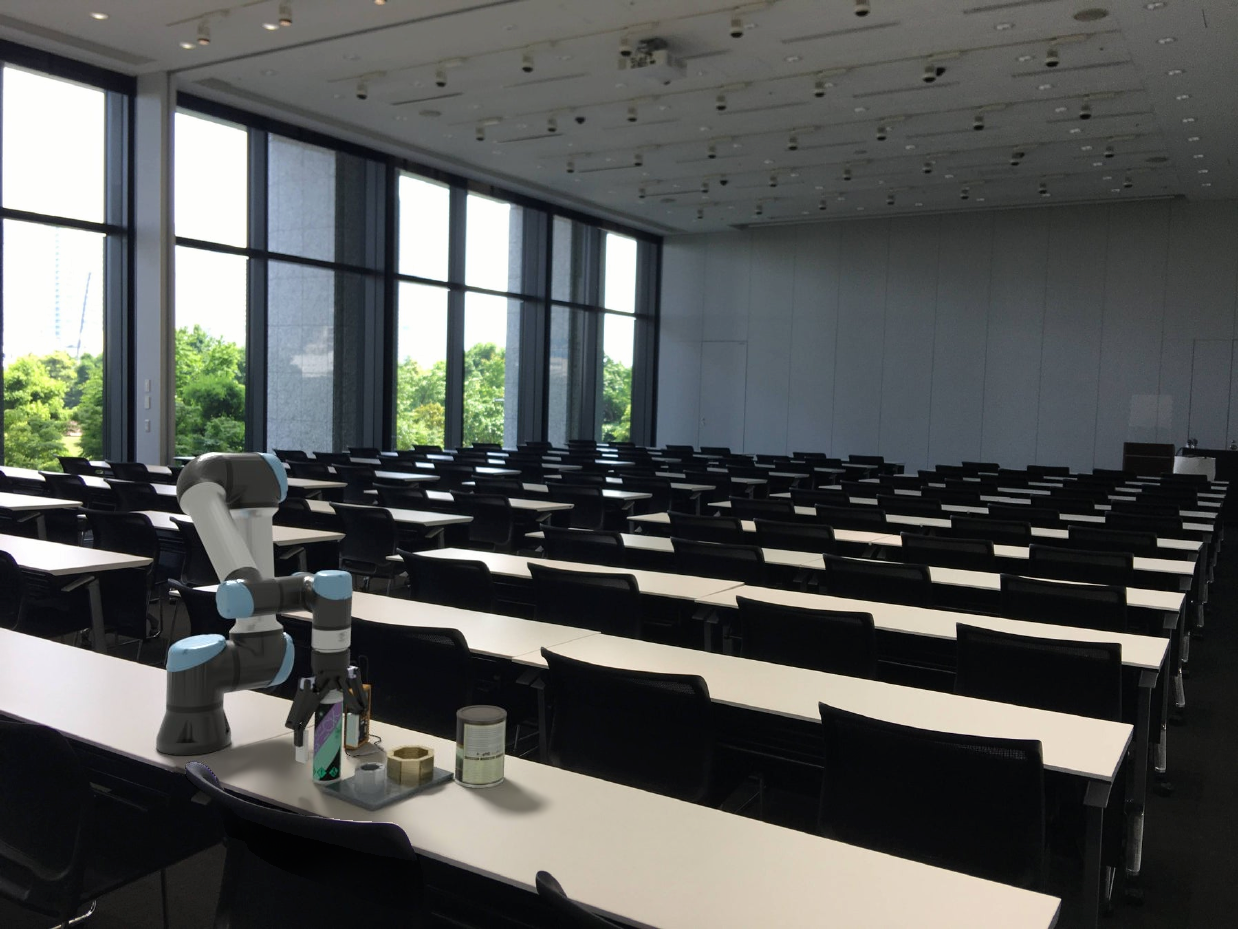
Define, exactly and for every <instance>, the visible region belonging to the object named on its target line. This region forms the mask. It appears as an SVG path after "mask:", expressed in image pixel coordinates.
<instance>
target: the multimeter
mask: <svg viewBox="0 0 1238 929" xmlns="http://www.w3.org/2000/svg"><path fill="white" fill-rule="evenodd" d="M361 657H362V658H363V657H364V658H365V660H366V662H367V664H366V665H367V668H366V684H363V683H362V684H363V687H364V690H365V693H366V696H367V700H368V703H369V708H368V709H365V714H364V715H361V726H360V729H358V746H357V747H353V746H349V745H346V736H347V714H348V713H352V712H351V711H350V709H349V708H348V707H347V705H346V704H345V703H344V712H343V714H344V715H343V717H344V718H343V720H344V721H343V724H344V725H343V745H342V746H343V749H344V752H345V754H346V755H347V756H349V757H350V756H353V757H352V758H356V756H357V757H362V756H367V754H368V755H372V754H373V753H377V752H379V750H374V751H372V750H370V751H367V752H362V753H360V754H357V755H350V754H349V753H348V751H347V750H350V749H352V751H356V750H357V749H358V748H359V747H361V746H362V745H364V744H366V743H367V742H369V739H370V737H374V736H375V737H376V738H378V739H379V740H377V741H374V742H373V744H374V745H375V746H376V747H377V748H378V749H380V750H381V751H382V752H383V751H384V752H385V753H388V750H385V748H384V747H382V746H381V745H378V744H377V743H379V742H381V741H382V737H380V736H378V735H373V734H370V720H371V694H372V693H371V690H372V689H371V688H372V686H371V684H369V659H368V657H367V656H366V655H364V654H363V655H359V656H358V663H357V662H356V661H355V660H350V664H351V663H354V664H355V665H356V667H358V668H360V669H361V661H360V658H361ZM348 667H349V666H348ZM348 667H347V669H348ZM360 678H361V674H360ZM345 682H346V683H347V680H346V681H345ZM350 692H351V693H352V695H353V692H352V689H351V688H350ZM353 696H354V695H353Z"/></svg>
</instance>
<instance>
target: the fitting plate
mask: <svg viewBox="0 0 1238 929" xmlns="http://www.w3.org/2000/svg"><path fill="white" fill-rule="evenodd" d="M386 757H387V758H386V759H387V760H386V764H383V763H380V762H369V761H368V762H362V763H359V764H357V765H355V768H354V775H353V776H350V777H347V778H343V779H340V780H339V781H338V782H335V783H332V784H326V785H323V787H322V793H323V794H325V795H328V796H330V797H333V798H335V799H339V800H341V801H344V802H346V803H349V804H351V805H355V806H357V807H360V808H362V809H366V810H368V811H370V812H374V811H377V810H379V809H381V808H383V807H386V806H389V805H392V804H394V803H396V802H398V801H401V800H404V799H406V798H409V797H411V796H414V795H416V794H418V793H421V792H423V791H426V790H428V789H431V788H434V787H437V786H439V785H441V784H444V783H446V782H449V781H451V780H454V779H453V778H455V772H452V771H449V770H446V769H443V768H440V767H437V766H435V749H434V748H432V747H429V746H428V747H427V746H425V745H423V744H422V745H420V744H418V745H416V744H413V745H412V744H411V745H409V744H407V745H399V746H395V747H394V748H390V749H388V750H387V755H386Z"/></svg>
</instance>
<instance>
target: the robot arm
mask: <svg viewBox="0 0 1238 929" xmlns="http://www.w3.org/2000/svg"><path fill="white" fill-rule="evenodd" d="M286 471H287V470H286V468H285V466H284V464H283V462H281V459H280V458H279V457H277V456H276V455H274V454H272V453H265V452H264V453H263V452H215V451H214V452H213V451H212V452H206V453H203V454H200V455H198V456H195V457H194V458H193V459H191V460H190V461H189V462H188V463H187V464H185V466H184V467H183V468H182V470H181V471H180V473H179V475H178V477H177V478H178V479H177V481H176V486H175V487H176V488H175V490H176V491H175V493H176V494H175V495H176V498H177V499H176V500H177V503H178V504H179V507H180V509H181V510H182V512H183V513H184V514H185V515H187V516H189V517H190V520H191V521H192V524H193V525H194V527H195V529H196V532H197V533H198V536H199V538H200V540H201V542H202V544H203V546H204V549H205V551H206V553H207V555H208V558H209V560H210V562H211V564H212V566H213V568H214V570H215V573H216V574H217V577H218V580H219V582H220V583H219V585H218V586H217V588H216V593H215V602H216V608H217V611H218V613H219V615H220V616H221V617H223V618H225V619H229V620H230V619H235V623H234V626H233V627H231V629H230V630H229V632H228V633H229V634H228V635H229V639H227V640H226V637H225V636H223V635H222V634H216V633H214V634H213V633H209V634H200V635H194V636H189V637H186V638H183V639H181V640H178V641H176V642H175V643H173V644H172V645H171V646H170V647H169V650H168V653H167V663H166V666H165V669H166V695H165V696H166V697H165V700H166V702H165V713H164V716H163V719H162V720H161V721H162V722H161V724H160V727H159V731H158V733H157V735H156V743H155V748H156V750H157V749H158V750H159V751H158V750H157V751H158V752H160V753H163V754H167V755H172V754H174V755H173V756H193V755H194V756H195V755H196V756H197V755H203V754H207V753H208V754H209V753H212V752H215V751H217V752H218V751H219V750H221V749H224V748H226V747H228V746H229V745H230V744H231V742H232V730H231V728H230V727H231V726H230V723H229V721H228V718H227V717H228V716H227V714H226V712H225V708H224V703H225V702H224V700H225V699H224V697H225V694H227V693H228V694H229V693H235V692H242V691H247V690H254V689H259V688H262V689H267V688H269V687H272V686H276V685H280V684H282V683H283V682H285V681H286V680H287V679H288V678H289V676H290V674H291V672H292V670H293V666H294V662H295V660H294V659H295V645H294V644H293V638H292V637H291V635H289V634H288V633H286V632H284V625H282V624H281V623H280V622H278V621H277V617H276V615H283V614H293V613H302V612H307V613H310V614H312V619H311V620H312V625H311V627H312V628H311V644H310V645H311V647H312V650H311V652H310V653H311V654H310V667H311V669H312V674H311V677H307V678H305V677H302V676H300V677H299V678H298V680H297V690H296V693H295V696H294V698H293V701H292V704H291V707H290V710H289V712H288V714H287V718H286V720H285V723H284V727H285V728H286V729H290V730H292V731H293V745H294V746H295V761H296V762H299V763H302V764H308V762H309V761H308V760H309V759H308V757H309V730H310V729H306V727H307V726H308V725H309V723H310V721H311V719H312V717H313V715H315V710H316V708H317V707H318V705H319V703H320V701H321V700H323V699H324V698H325V696H326V694H328V693H329V692H330V690H333V689H332V688H334V690H335V689H337V690H336V691H340V692H342V693H343V703H344V705H345V704H346V705H347V707H348V708H349V709H350V711H351V712H352V713H348V714H347V736H346V745H349V746H353V747H357V746H358V729H360V726H361V715H364V714H365V709H368V708H369V703H368V700H367V696H366V693H365V690H364V687H363V683H362V679H361V678H360V675H361V667H360V668H359V666H358V667H357V666H353V665H350V664H351V663H350V662H351V649H350V648H349V647H350V646H351V631H352V625H351V624H352V612H353V611H352V608H353V607H352V605H353V594H354V593H353V591H354V590H353V578H352V574H351V573H350V572H348V571H347V570H346V571H344V570H339V569H338V570H336V569H335V570H332V569H331V570H326V569H325V570H320V571H317V572H316V573H315V574H314V573H311V572H307V571H306V572H303V571H299V572H294V573H292V574H291V575H289V576H278V577H277V576H275V564H274V563H275V562H274V560H275V559H274V536H273V535H274V534H273V532H274V531H273V516H274V515H275V514H276V513H277V512H278V511H279V503H281V502H283V501H285V499H286V497H287V492H288V490H289V485H288V484H289V481H288V475H287V472H286ZM347 667H348V669H347ZM347 679H348V682H349V684H347ZM345 681H346V682H345ZM349 685H350V687H349ZM350 689H352V692H353V695H354V696H353V695H352V693H351V692H350ZM317 693H319V694H317Z"/></svg>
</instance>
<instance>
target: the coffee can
mask: <svg viewBox="0 0 1238 929" xmlns="http://www.w3.org/2000/svg"><path fill="white" fill-rule="evenodd" d="M507 716H508V712H507V711H506V710H505V709H504V708H503V707H502V708H501V707H499V706H495V705H485V704H484V705H483V704H478V705H477V704H476V705H469V706H465V707H461V708H460V709H458V710H457V712H456V739H455V765H454V768H455V770H454V779H453V780H454V782H455V783H456V784H457V785H458V786H461V785H462V787H465V788H469V787H472V788H471V789H486V787H488V788H493V787H496V786H499V785H500V784H502V783H503V782H504V780H505V777H504V776H505V775H504V773H505V755H506V754H505V751H506V750H505V749H506V732H507V731H506V730H507V729H506V727H507Z"/></svg>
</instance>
